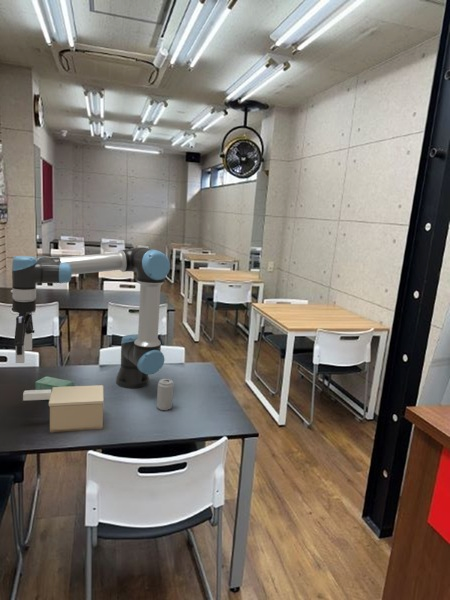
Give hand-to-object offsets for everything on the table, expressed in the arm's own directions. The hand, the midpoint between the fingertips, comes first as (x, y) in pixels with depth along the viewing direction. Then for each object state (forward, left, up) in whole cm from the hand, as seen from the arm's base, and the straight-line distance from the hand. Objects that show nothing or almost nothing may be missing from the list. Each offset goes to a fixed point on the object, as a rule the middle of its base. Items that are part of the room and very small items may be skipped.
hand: (24, 356), depth 147 cm
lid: (-14, +6, -14) cm, 21 cm away
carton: (-19, +6, -24) cm, 31 cm away
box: (-9, -16, -25) cm, 30 cm away
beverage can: (-53, -1, -24) cm, 58 cm away
